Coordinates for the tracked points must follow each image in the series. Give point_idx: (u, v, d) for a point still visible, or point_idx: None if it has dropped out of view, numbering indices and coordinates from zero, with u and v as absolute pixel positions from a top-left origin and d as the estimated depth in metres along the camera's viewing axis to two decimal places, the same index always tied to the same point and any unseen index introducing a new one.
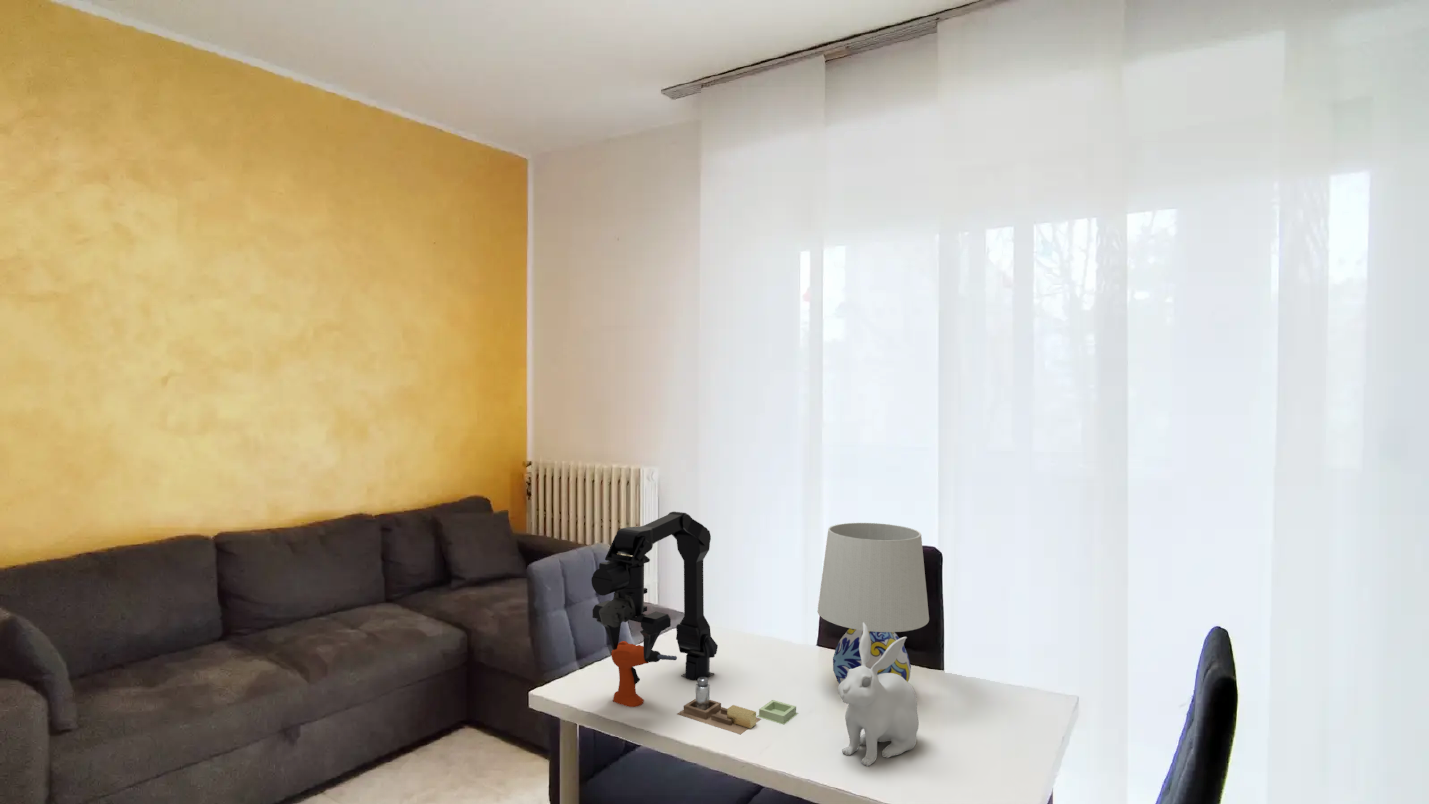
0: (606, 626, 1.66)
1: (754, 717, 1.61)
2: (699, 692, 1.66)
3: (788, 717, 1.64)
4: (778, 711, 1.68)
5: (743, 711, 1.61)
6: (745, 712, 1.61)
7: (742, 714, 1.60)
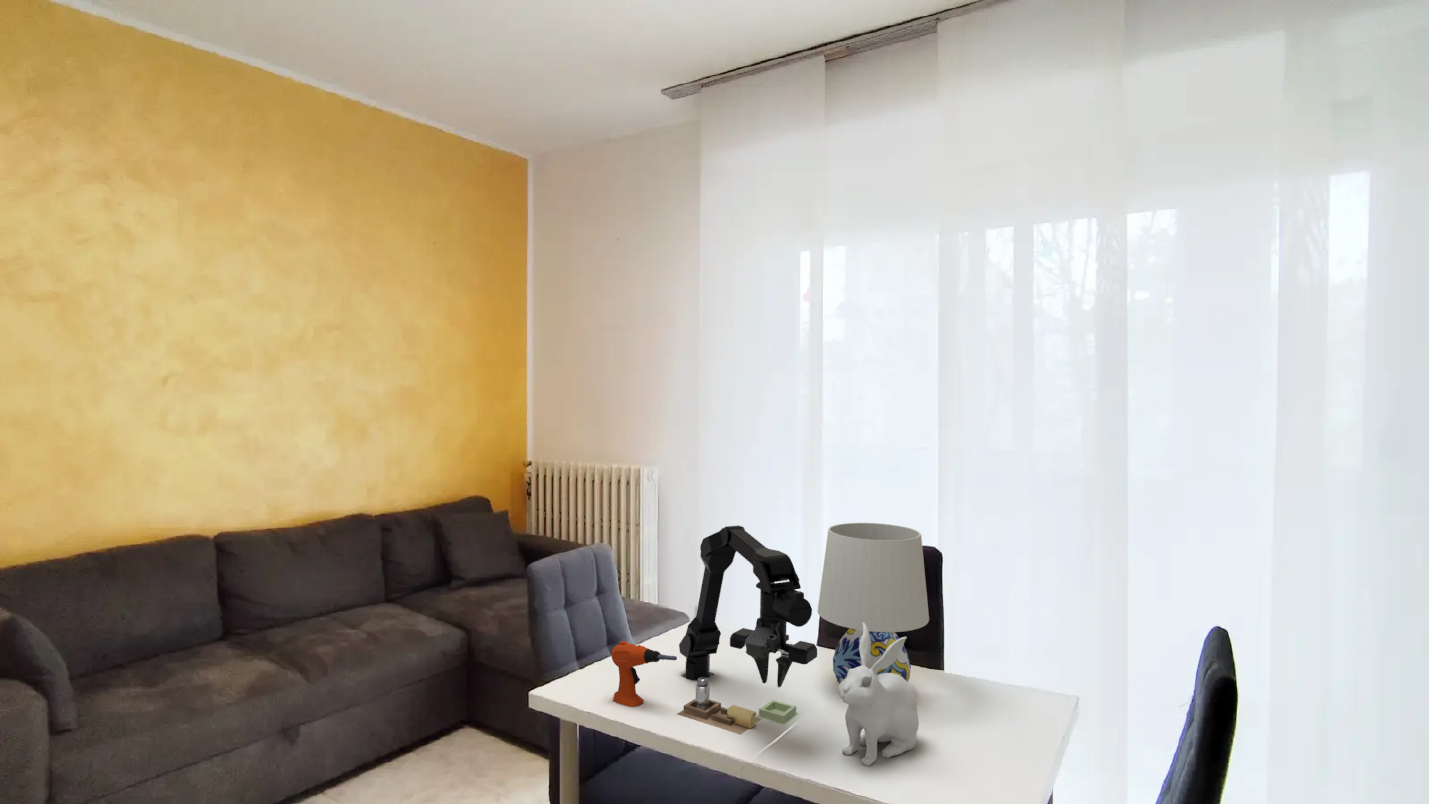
0: (756, 658, 1.58)
1: (754, 717, 1.61)
2: (699, 692, 1.66)
3: (788, 717, 1.64)
4: (778, 711, 1.68)
5: (743, 711, 1.61)
6: (745, 712, 1.61)
7: (742, 714, 1.60)
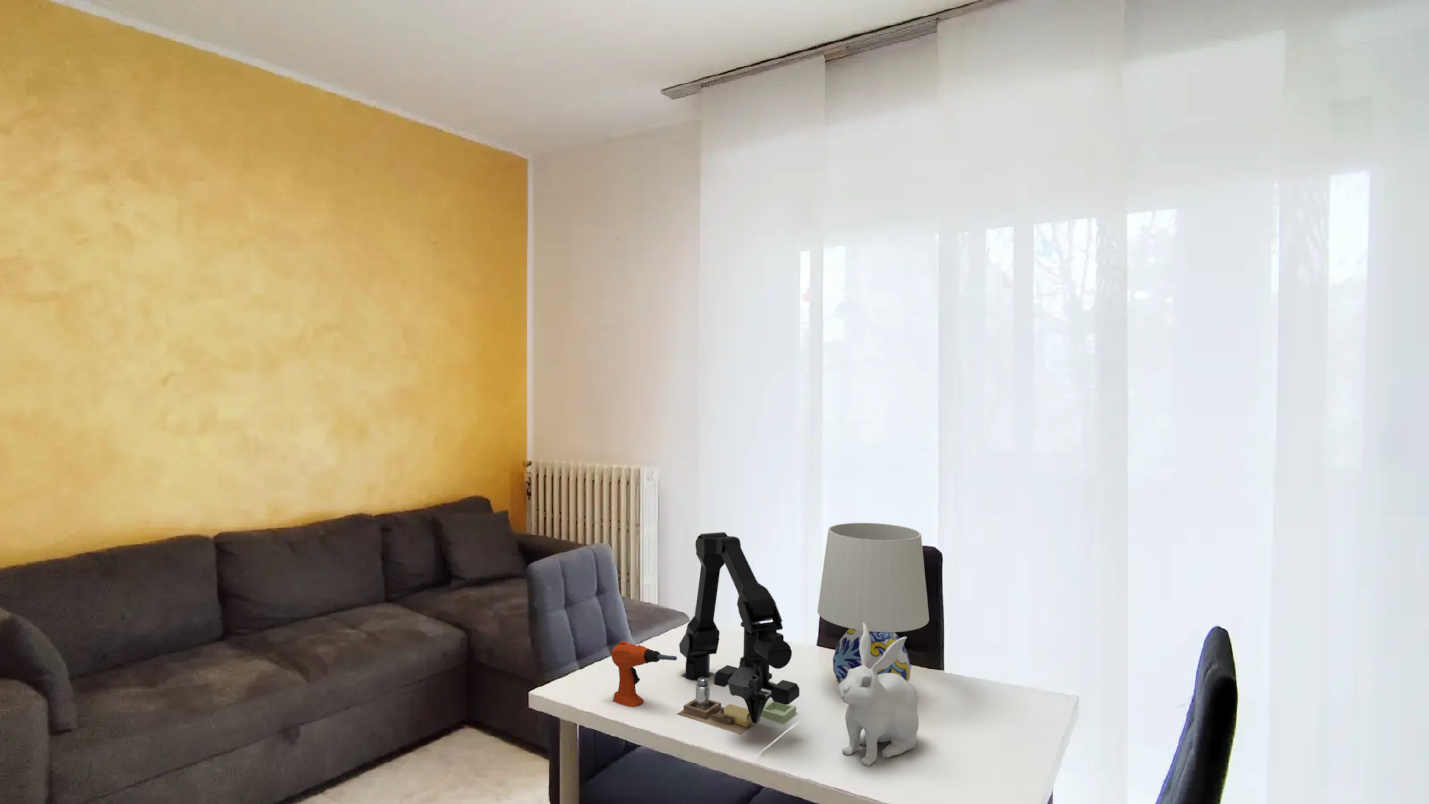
0: (746, 699, 1.59)
1: None
2: (699, 692, 1.66)
3: (788, 717, 1.64)
4: (778, 711, 1.68)
5: (739, 710, 1.62)
6: (742, 711, 1.61)
7: (738, 713, 1.61)
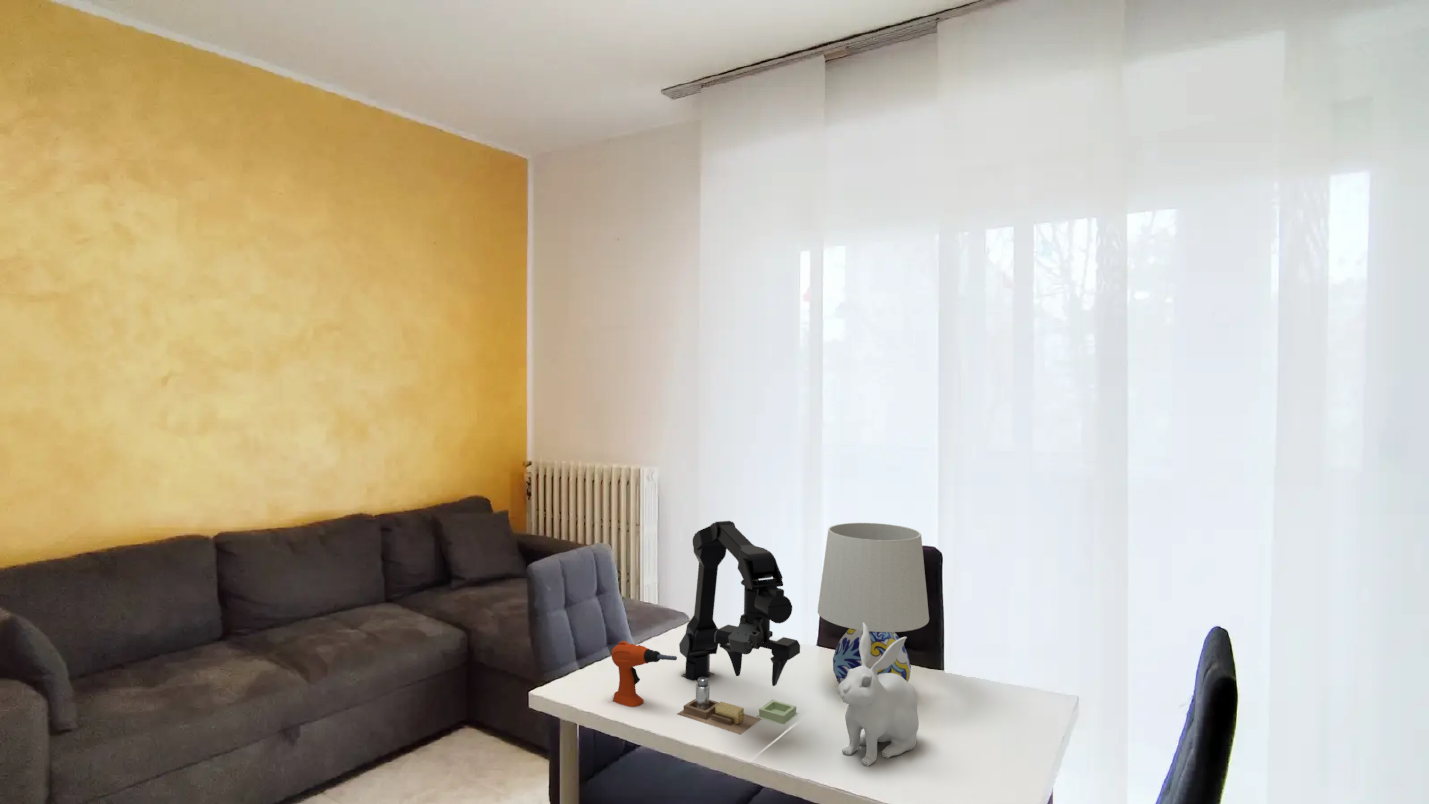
0: (730, 652, 1.61)
1: (742, 713, 1.62)
2: (699, 692, 1.66)
3: (788, 717, 1.64)
4: (778, 711, 1.68)
5: (731, 708, 1.63)
6: (733, 708, 1.63)
7: (729, 710, 1.62)
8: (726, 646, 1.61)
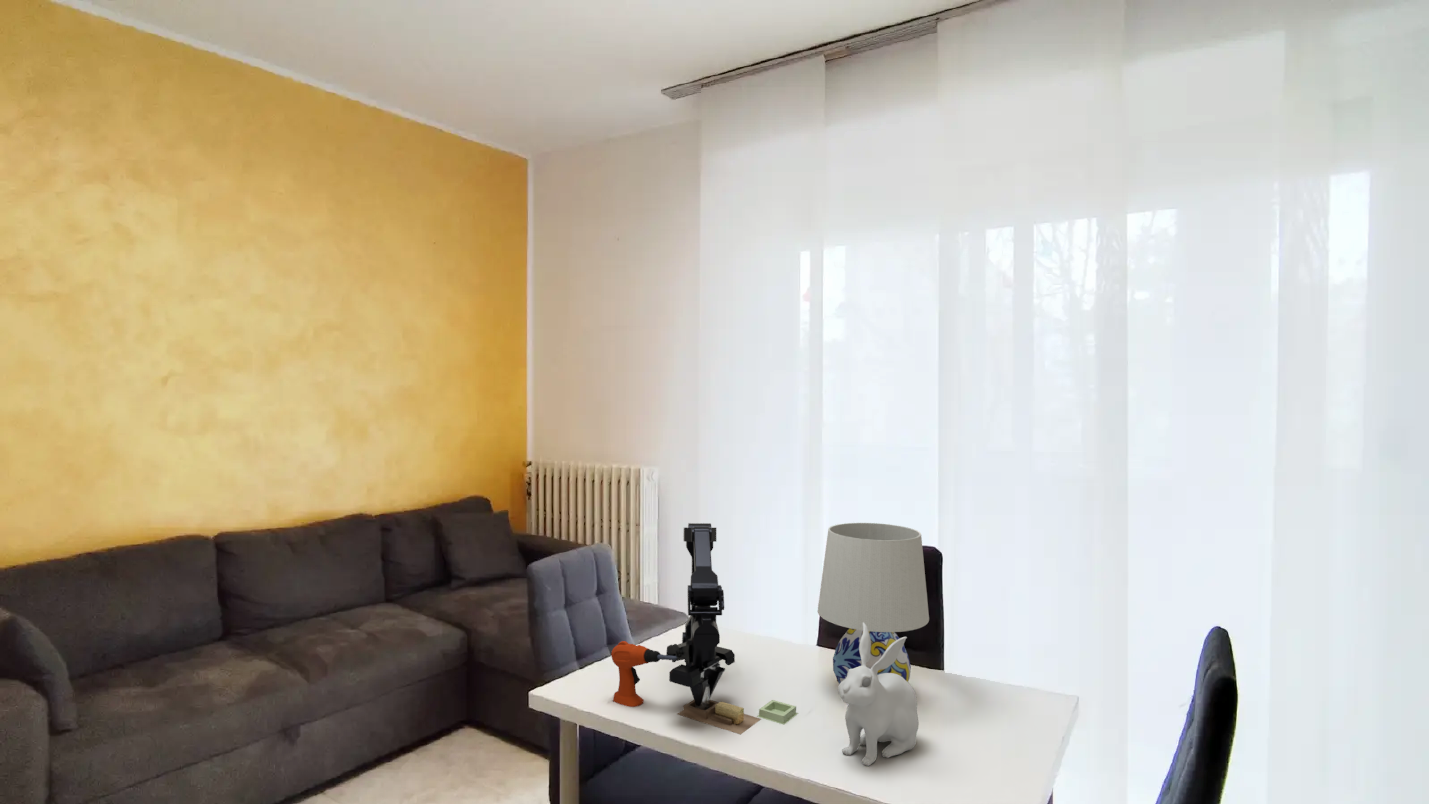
0: None
1: (742, 713, 1.62)
2: None
3: (788, 717, 1.64)
4: (778, 711, 1.68)
5: (731, 708, 1.63)
6: (733, 708, 1.63)
7: (729, 710, 1.62)
8: None
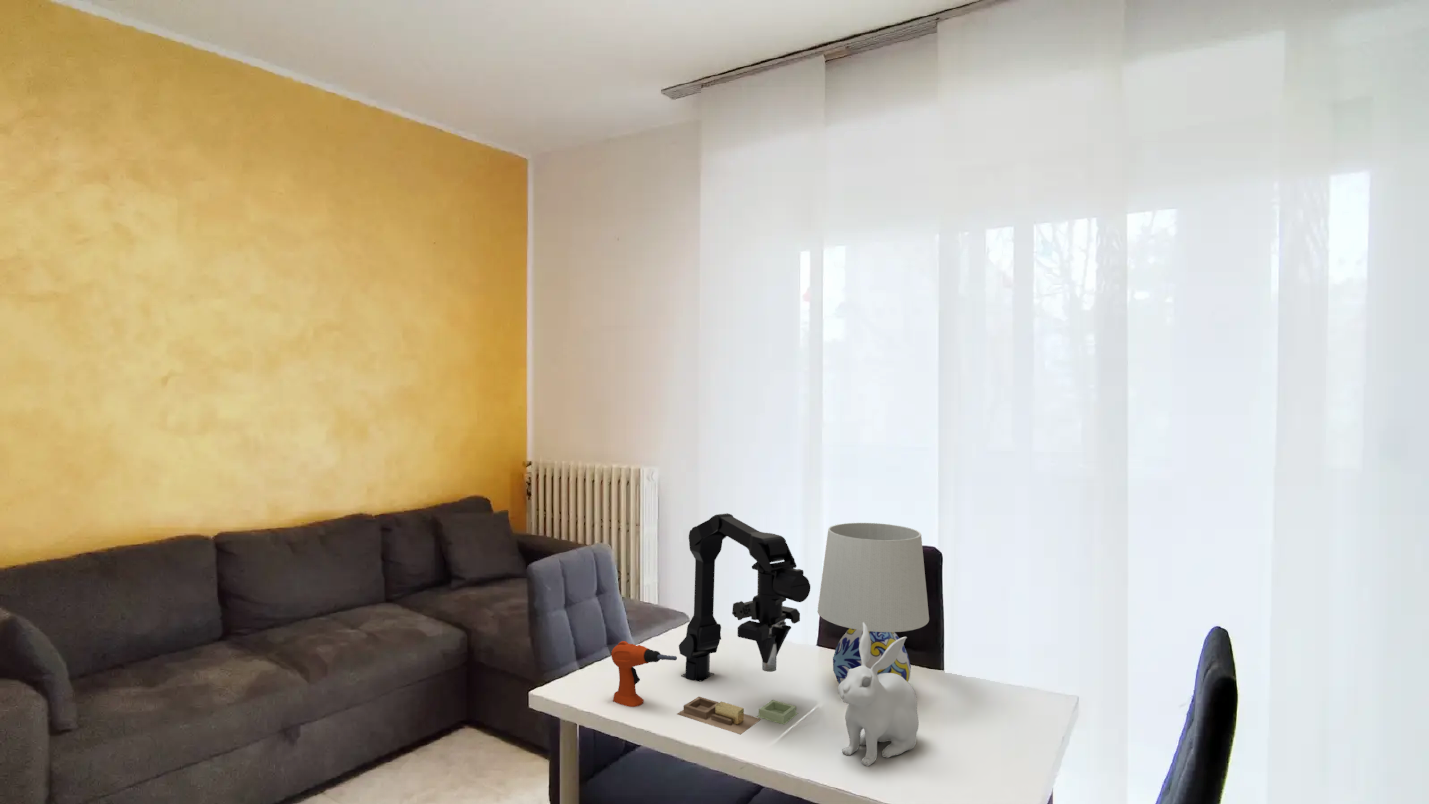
0: None
1: (742, 713, 1.62)
2: None
3: (788, 717, 1.64)
4: (778, 711, 1.68)
5: (731, 708, 1.63)
6: (733, 708, 1.63)
7: (729, 710, 1.62)
8: None
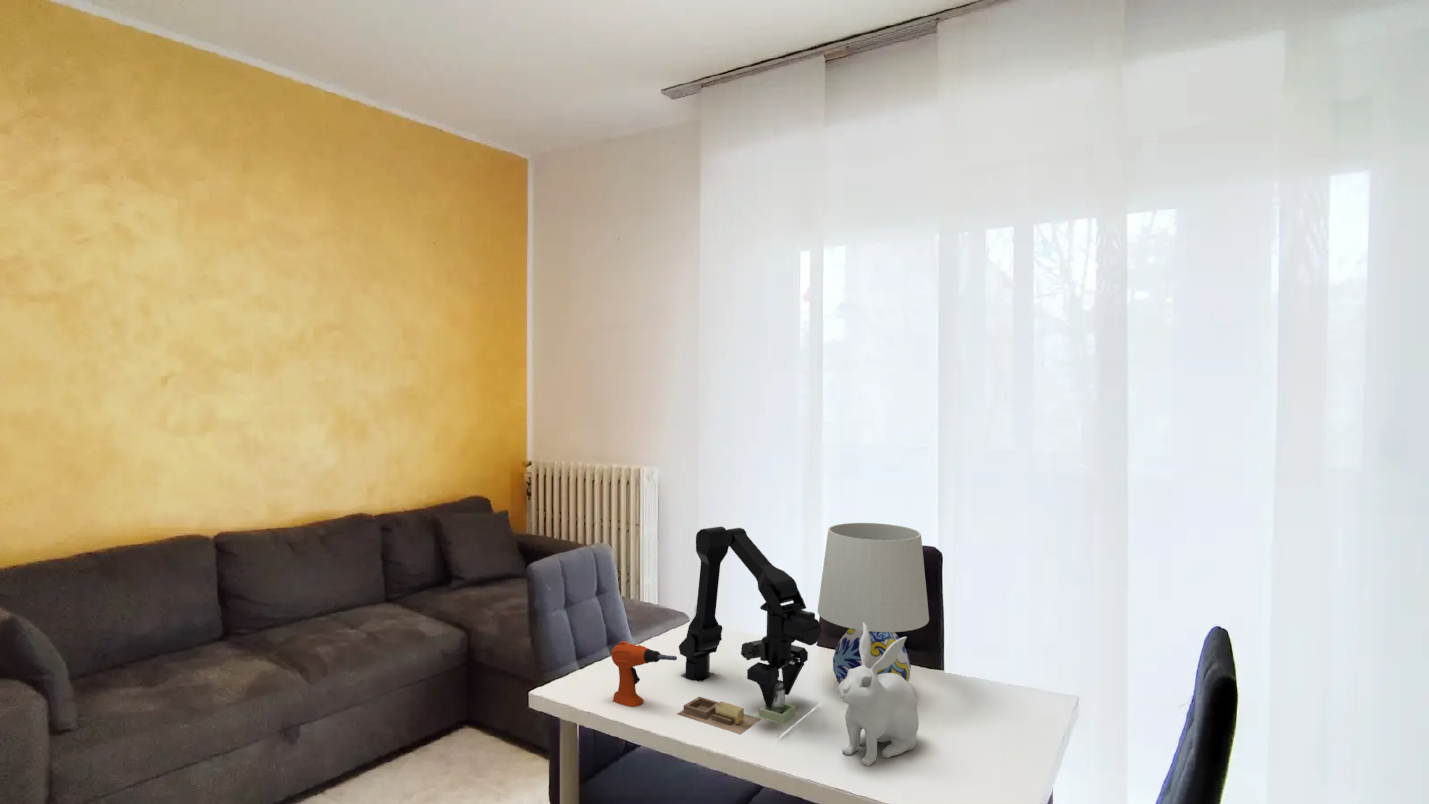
0: None
1: (742, 713, 1.62)
2: (775, 695, 1.65)
3: (788, 717, 1.64)
4: None
5: (731, 708, 1.63)
6: (733, 708, 1.63)
7: (729, 710, 1.62)
8: None
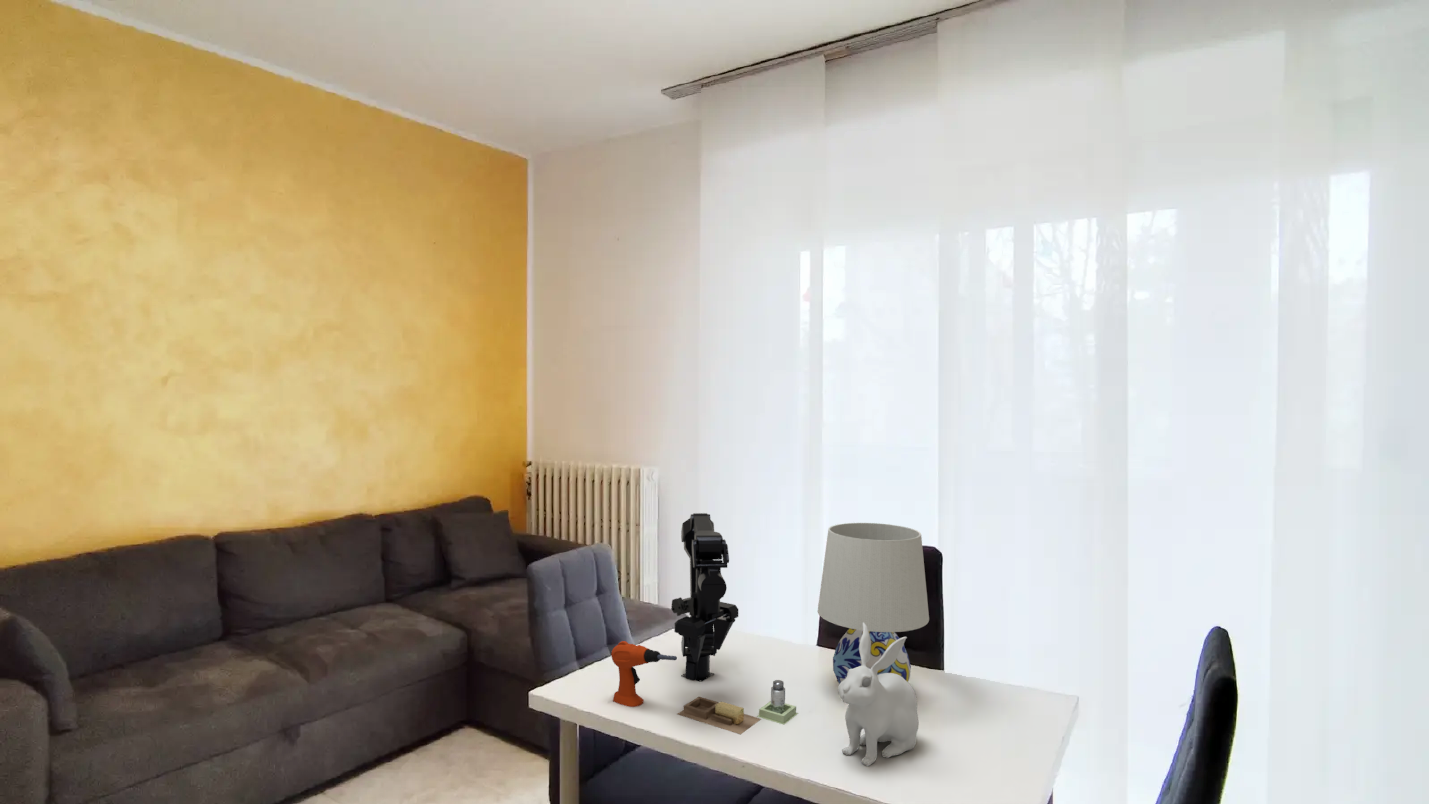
0: None
1: (742, 713, 1.62)
2: (775, 695, 1.65)
3: (788, 717, 1.64)
4: None
5: (731, 708, 1.63)
6: (733, 708, 1.63)
7: (729, 710, 1.62)
8: None
